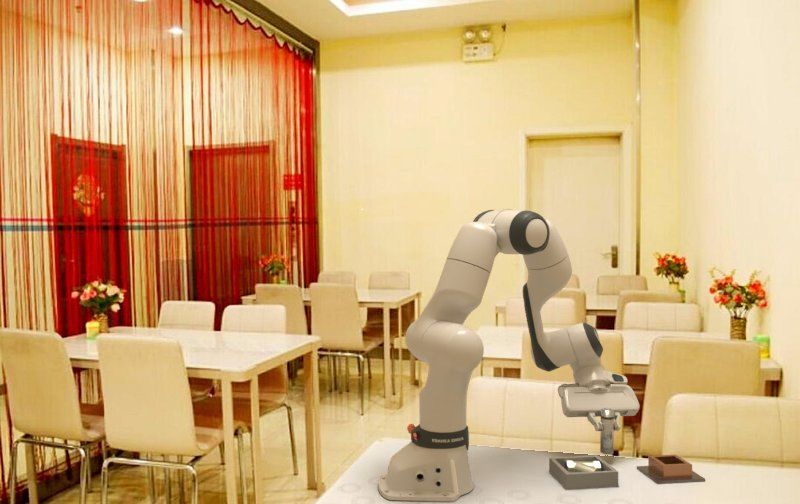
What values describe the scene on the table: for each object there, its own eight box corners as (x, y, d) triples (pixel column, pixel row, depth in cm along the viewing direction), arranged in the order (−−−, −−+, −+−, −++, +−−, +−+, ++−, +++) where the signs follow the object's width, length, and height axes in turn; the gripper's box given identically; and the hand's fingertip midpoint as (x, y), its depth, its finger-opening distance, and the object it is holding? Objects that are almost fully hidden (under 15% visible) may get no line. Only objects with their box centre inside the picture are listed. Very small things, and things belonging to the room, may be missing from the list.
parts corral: (566, 489, 146) (566, 474, 146) (549, 471, 157) (549, 457, 157) (618, 486, 147) (618, 471, 147) (597, 468, 159) (597, 455, 159)
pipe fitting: (604, 486, 150) (597, 473, 156) (604, 470, 149) (598, 458, 156) (570, 485, 150) (564, 472, 157) (570, 469, 150) (565, 457, 157)
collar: (657, 484, 149) (657, 468, 149) (636, 468, 159) (636, 454, 159) (705, 481, 150) (705, 466, 150) (681, 466, 160) (681, 452, 160)
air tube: (603, 454, 161) (604, 411, 161) (597, 450, 164) (598, 408, 164) (615, 454, 161) (616, 411, 161) (610, 450, 165) (610, 407, 164)
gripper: (559, 377, 168) (572, 424, 159) (631, 376, 171) (649, 422, 161) (552, 390, 173) (565, 436, 163) (623, 389, 175) (640, 434, 165)
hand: (608, 429), depth 162 cm, fingers closed on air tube, 3 cm apart
